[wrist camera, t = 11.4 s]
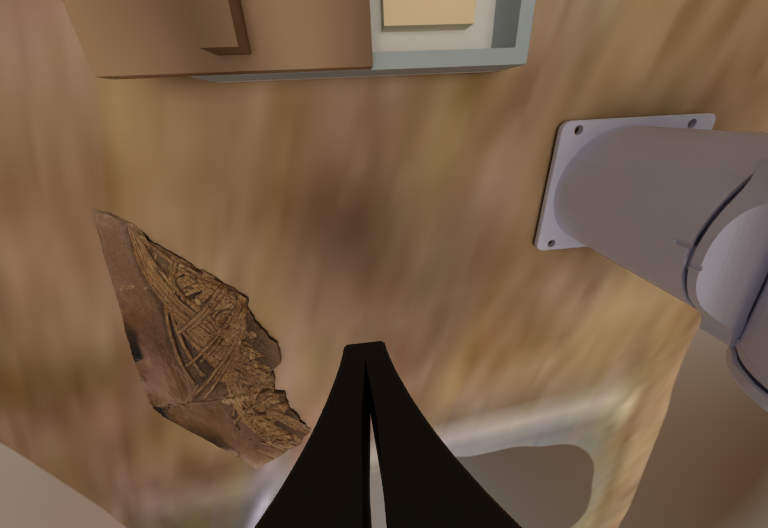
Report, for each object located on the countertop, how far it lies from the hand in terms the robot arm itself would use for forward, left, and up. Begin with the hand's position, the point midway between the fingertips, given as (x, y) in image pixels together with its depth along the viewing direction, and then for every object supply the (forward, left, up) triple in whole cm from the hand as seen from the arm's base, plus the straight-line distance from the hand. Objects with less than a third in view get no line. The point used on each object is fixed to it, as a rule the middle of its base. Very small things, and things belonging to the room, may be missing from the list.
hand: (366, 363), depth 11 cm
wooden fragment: (+12, +9, -10) cm, 18 cm away
